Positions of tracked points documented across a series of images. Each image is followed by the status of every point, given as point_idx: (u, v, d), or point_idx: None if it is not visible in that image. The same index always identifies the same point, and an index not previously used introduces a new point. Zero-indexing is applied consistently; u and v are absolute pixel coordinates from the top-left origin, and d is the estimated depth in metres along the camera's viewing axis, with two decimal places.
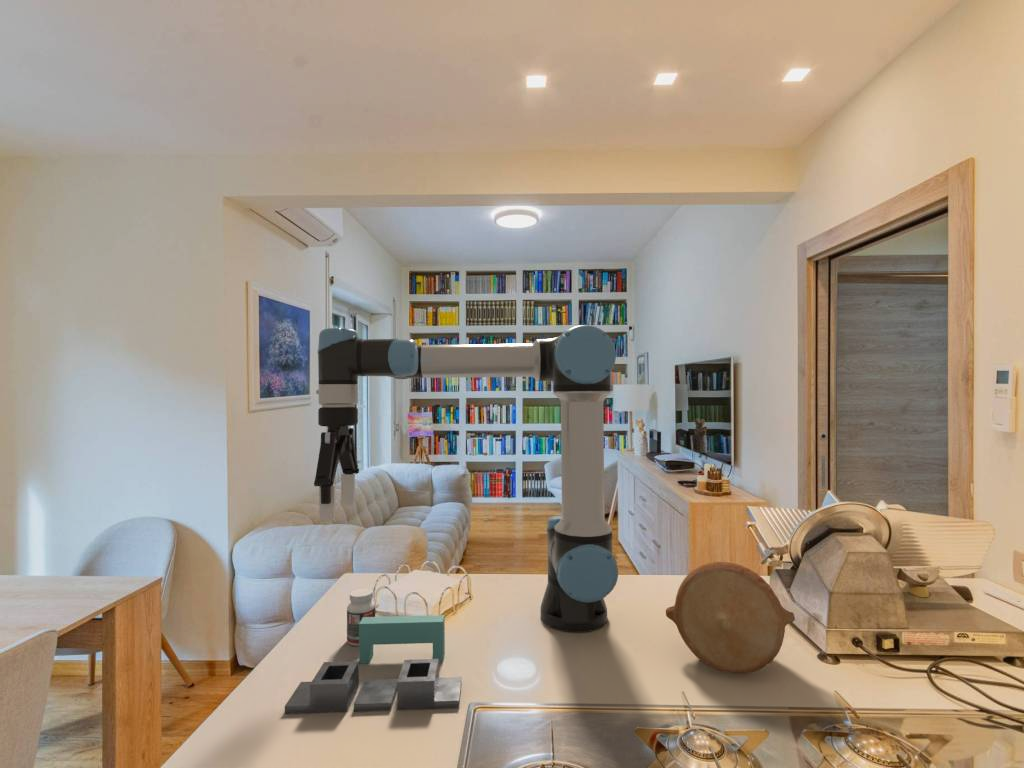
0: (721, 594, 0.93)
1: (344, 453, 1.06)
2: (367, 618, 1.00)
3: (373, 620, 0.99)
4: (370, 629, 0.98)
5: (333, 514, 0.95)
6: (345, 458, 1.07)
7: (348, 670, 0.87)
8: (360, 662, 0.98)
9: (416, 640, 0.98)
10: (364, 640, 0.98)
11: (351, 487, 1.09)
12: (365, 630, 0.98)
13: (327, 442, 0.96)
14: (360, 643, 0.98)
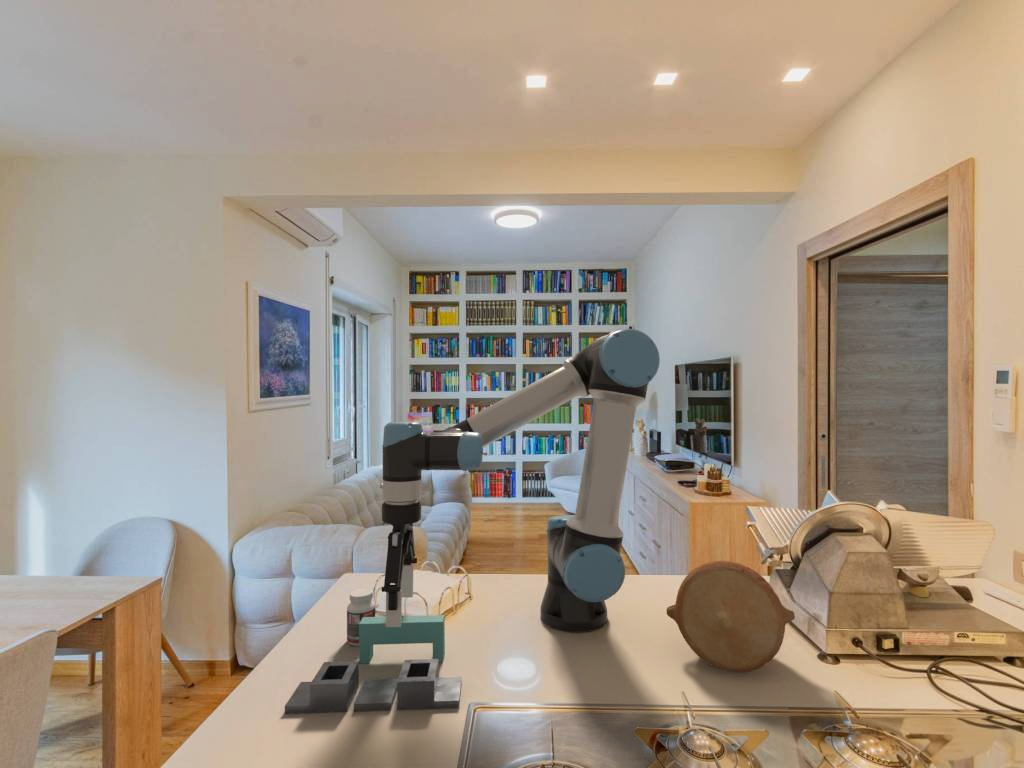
0: (721, 593, 0.93)
1: None
2: (367, 618, 1.00)
3: (373, 620, 0.99)
4: (370, 629, 0.98)
5: (400, 620, 0.93)
6: None
7: (348, 670, 0.87)
8: (360, 662, 0.98)
9: (416, 640, 0.98)
10: (364, 640, 0.98)
11: (410, 579, 1.06)
12: (365, 630, 0.98)
13: (394, 545, 0.93)
14: (360, 643, 0.98)
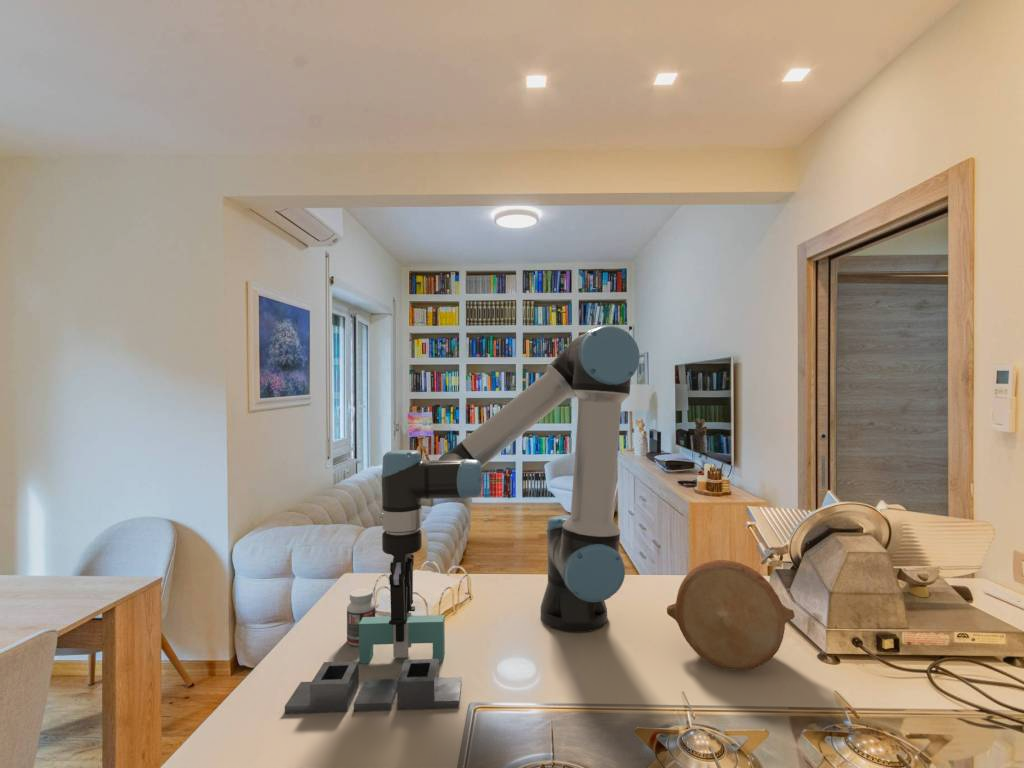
0: (722, 592, 0.94)
1: None
2: (367, 618, 1.00)
3: (373, 620, 0.99)
4: (370, 629, 0.98)
5: (406, 650, 0.97)
6: None
7: (348, 670, 0.87)
8: (360, 662, 0.98)
9: (416, 640, 0.98)
10: (364, 640, 0.98)
11: None
12: (365, 630, 0.98)
13: (396, 584, 0.94)
14: (360, 643, 0.98)
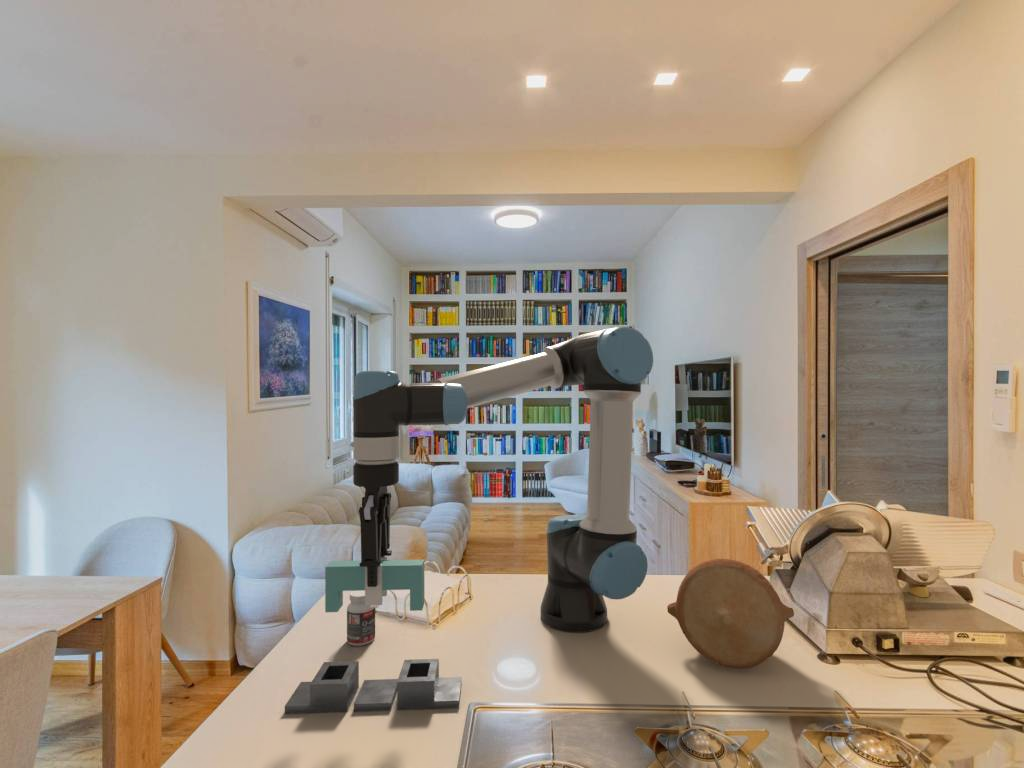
0: (722, 590, 0.94)
1: None
2: (336, 562, 0.88)
3: (342, 564, 0.87)
4: (338, 573, 0.85)
5: (380, 597, 0.85)
6: None
7: (348, 670, 0.87)
8: (326, 611, 0.85)
9: (391, 586, 0.86)
10: (331, 585, 0.85)
11: None
12: (333, 574, 0.85)
13: (368, 519, 0.82)
14: (327, 589, 0.85)
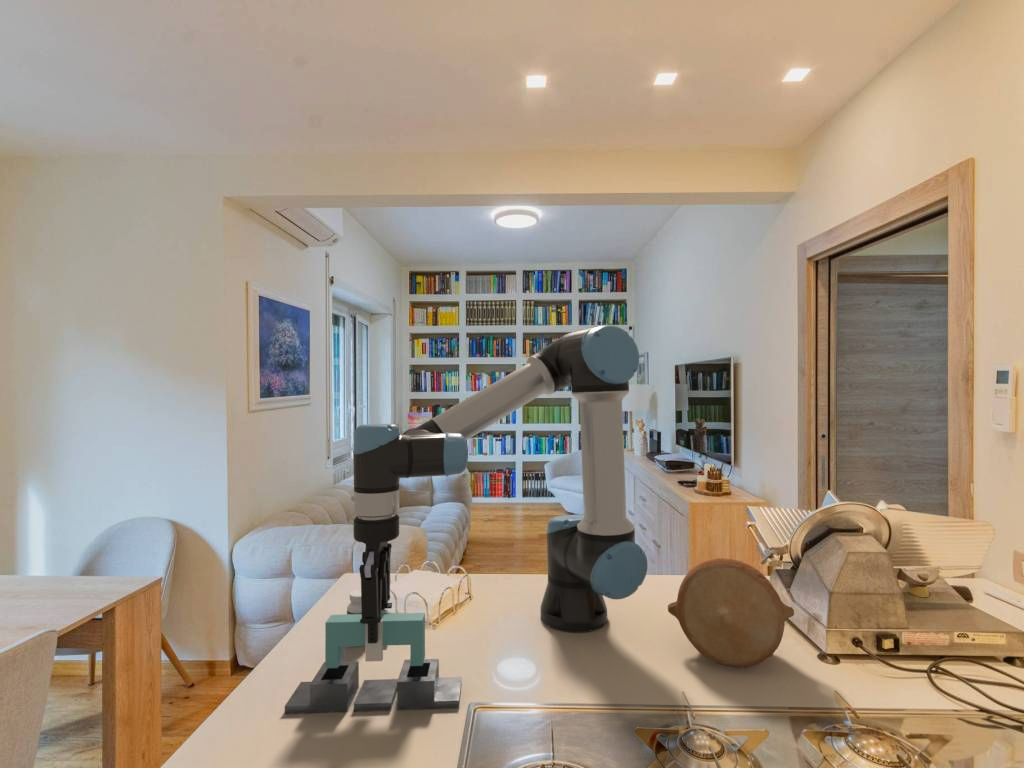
0: (722, 589, 0.95)
1: None
2: (336, 616, 0.87)
3: (342, 618, 0.86)
4: (338, 628, 0.85)
5: (381, 653, 0.85)
6: None
7: (348, 670, 0.87)
8: (326, 667, 0.85)
9: (391, 641, 0.85)
10: (331, 641, 0.85)
11: None
12: (333, 629, 0.85)
13: (368, 577, 0.81)
14: (327, 645, 0.85)
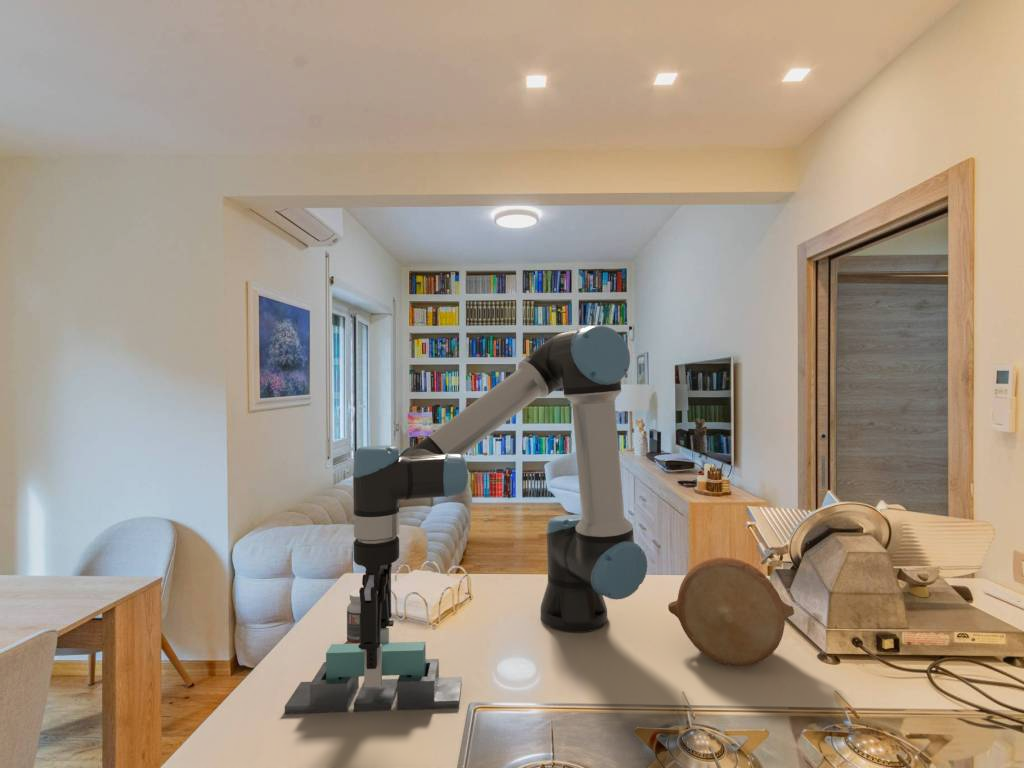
0: (723, 588, 0.95)
1: (380, 595, 0.89)
2: (336, 645, 0.87)
3: (343, 648, 0.86)
4: (339, 659, 0.85)
5: (380, 678, 0.83)
6: None
7: None
8: None
9: (392, 671, 0.85)
10: (332, 672, 0.85)
11: None
12: (333, 660, 0.85)
13: (368, 600, 0.81)
14: (327, 675, 0.85)
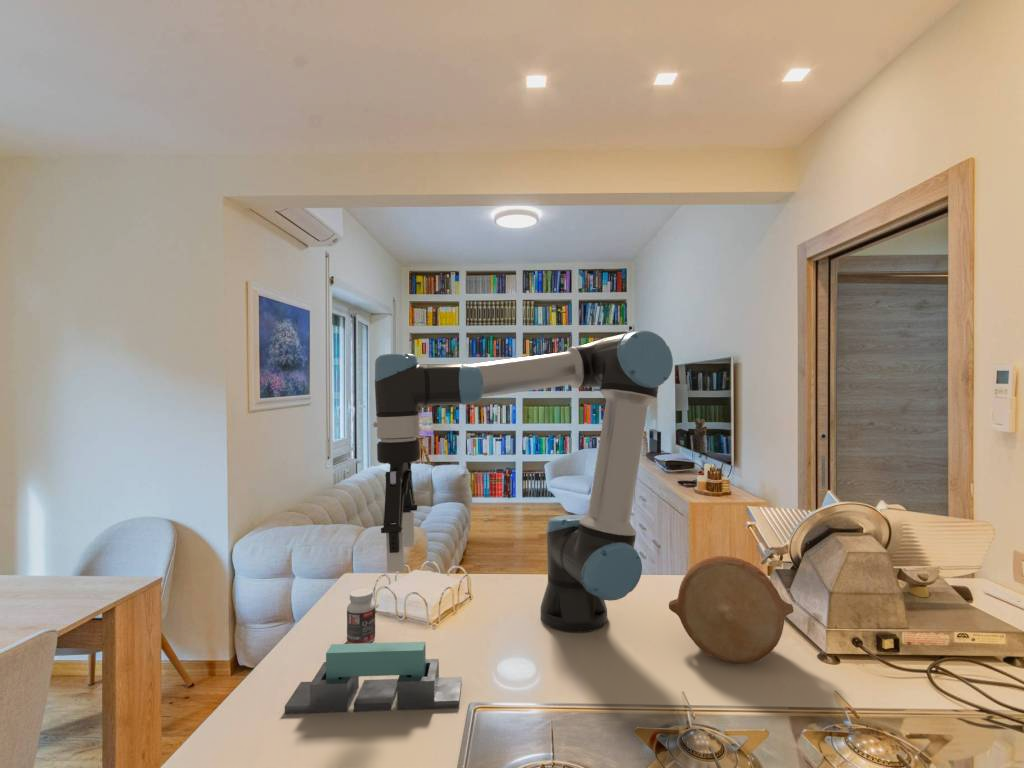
0: (723, 587, 0.96)
1: None
2: (336, 645, 0.87)
3: (343, 648, 0.86)
4: (339, 659, 0.85)
5: (402, 563, 0.85)
6: (405, 495, 0.97)
7: None
8: None
9: (392, 671, 0.85)
10: (332, 672, 0.85)
11: (410, 526, 0.99)
12: (333, 660, 0.85)
13: (393, 483, 0.86)
14: (327, 675, 0.85)
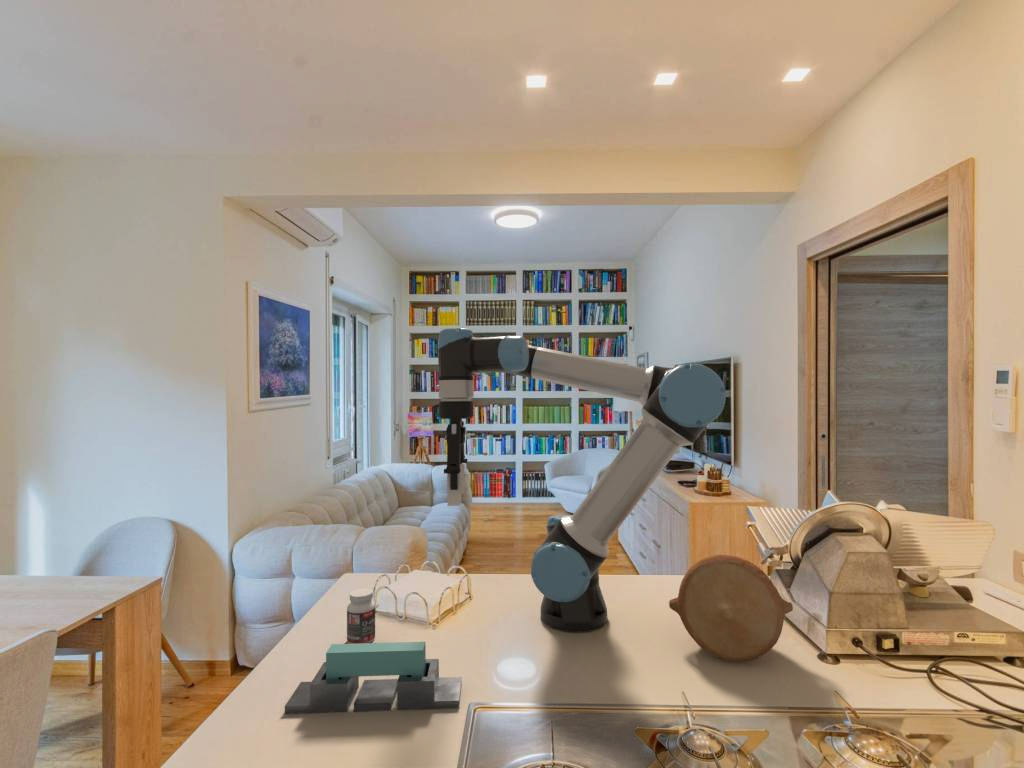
0: (723, 585, 0.97)
1: None
2: (336, 645, 0.87)
3: (343, 648, 0.86)
4: (339, 659, 0.85)
5: (460, 499, 1.04)
6: None
7: None
8: None
9: (392, 671, 0.85)
10: (332, 672, 0.85)
11: (462, 476, 1.17)
12: (333, 660, 0.85)
13: (454, 433, 1.04)
14: (327, 675, 0.85)
